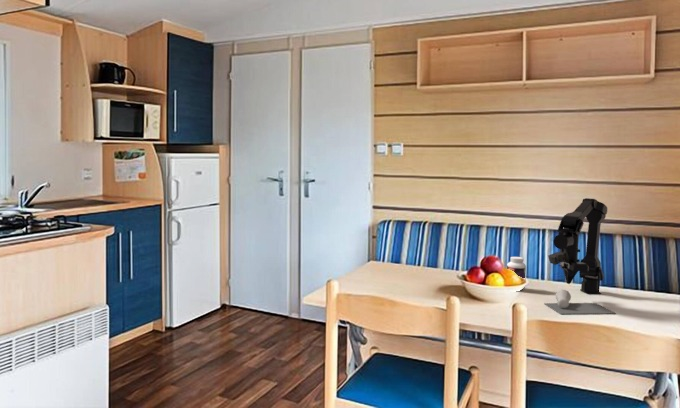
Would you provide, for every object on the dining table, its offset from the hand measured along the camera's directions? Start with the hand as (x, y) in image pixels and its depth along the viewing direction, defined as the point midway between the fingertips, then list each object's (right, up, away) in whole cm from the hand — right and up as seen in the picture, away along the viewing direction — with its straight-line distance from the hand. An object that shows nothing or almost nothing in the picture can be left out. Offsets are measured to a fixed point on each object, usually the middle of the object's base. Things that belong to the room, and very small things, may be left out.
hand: (568, 283), depth 225 cm
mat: (+1, -9, -9) cm, 12 cm away
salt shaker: (-2, -5, +1) cm, 5 cm away
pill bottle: (-15, -6, +21) cm, 27 cm away
